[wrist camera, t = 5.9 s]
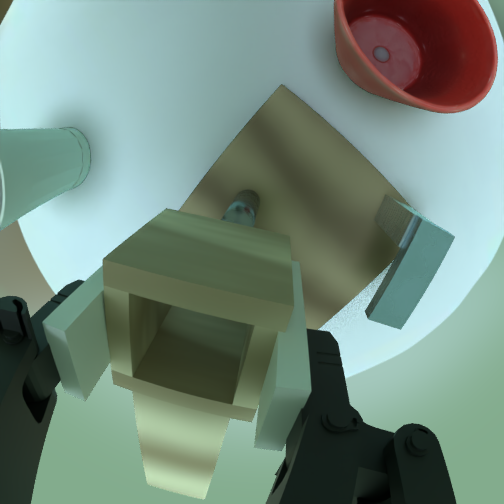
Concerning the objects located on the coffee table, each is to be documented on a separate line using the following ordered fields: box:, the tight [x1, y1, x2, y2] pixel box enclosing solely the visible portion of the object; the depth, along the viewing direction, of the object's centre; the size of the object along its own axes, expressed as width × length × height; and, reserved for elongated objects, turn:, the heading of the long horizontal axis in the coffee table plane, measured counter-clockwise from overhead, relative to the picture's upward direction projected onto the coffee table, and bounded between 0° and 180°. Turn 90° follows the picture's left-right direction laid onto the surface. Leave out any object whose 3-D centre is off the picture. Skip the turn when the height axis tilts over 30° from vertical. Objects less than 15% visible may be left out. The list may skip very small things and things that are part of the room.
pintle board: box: [179, 84, 411, 330], centre depth 26 cm, size 22×17×1 cm
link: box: [103, 208, 294, 500], centre depth 12 cm, size 15×5×5 cm, turn 168°
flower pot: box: [334, 0, 498, 113], centre depth 15 cm, size 11×11×10 cm
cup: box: [0, 128, 91, 231], centre depth 20 cm, size 8×8×12 cm
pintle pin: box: [221, 189, 260, 227], centre depth 21 cm, size 2×2×6 cm
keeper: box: [365, 194, 455, 330], centre depth 21 cm, size 3×8×7 cm, turn 161°
